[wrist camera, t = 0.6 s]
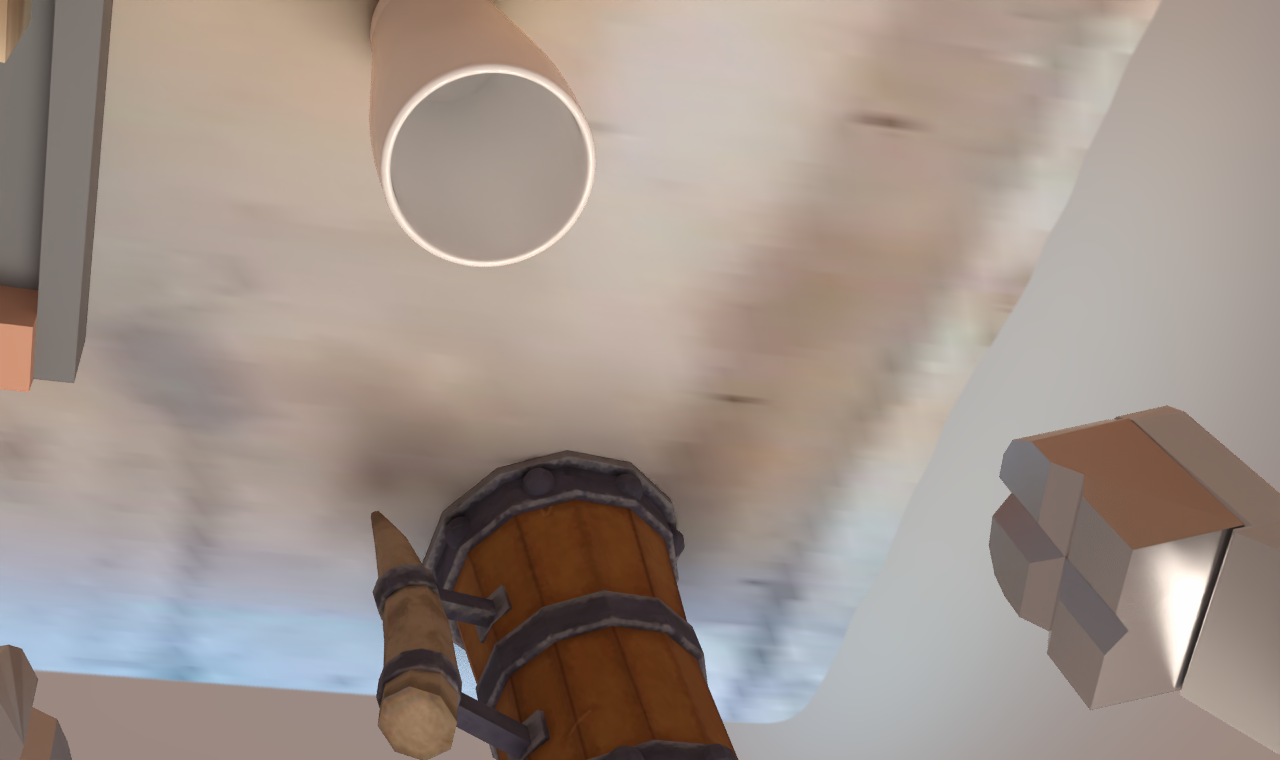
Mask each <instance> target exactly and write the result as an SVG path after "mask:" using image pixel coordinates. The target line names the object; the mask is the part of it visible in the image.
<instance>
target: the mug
mask: <svg viewBox="0 0 1280 760" xmlns="http://www.w3.org/2000/svg"><path fill="white" fill-rule="evenodd" d="M371 521H372V528H373V535H374V542H375V550H376V560H377V569H378V580H377V582H376V585H375V587H374V590H373V595H374V598H375V602H376V605H377V609H378V611H379V614H380V617H381V619H382V620H383V631H384V668H383V670H382V673H381V676H380V678H379V682H378V689H377V696H376V698H377V701H378V704H379V707H380V713H379V721H378V727H379V728H380V730H381V731H382V733H383V734H384V736H385V737H386V739H387V740H388V742H389V743H390V745H391V746H392V748H393V749H394V751H395V752H398V753H401V754H404V755H407V756H411V757H414V758H417V759H420V760H428V759H430V758H433V757H435V756H437V755H439V754H441V753H443V752H446V751H448V750H450V749H451V746H452V742H453V737H454V733H455V729H456V727H458V728H460V729H462V730H464V731H466V732H467V733H469V734H471V735H473V736H475V737H477V738H479V739H481V740H483V741H485V742H486V743H488V744H489V745H490V749H491V752H492V755H493V758H495V759H496V760H738V758H737V756H736V753H735V751H734V748H733V746H732V744H731V741H730V739H729V737H728V734H727V731H726V729H725V727H724V724H723V722H722V719H721V717H720V714H719V712H718V710H717V707H716V705H715V702H714V700H713V698H712V695H711V693H710V690H709V688H708V684H707V676H706V668H705V660H704V653H703V651H702V648H701V646H700V644H699V641H698V639H697V637H696V634H695V632H694V629H693V627H692V626H691V625H690V624H689V623H688V622H687V620H686V616H685V612H684V609H683V605H682V601H681V598H680V594H679V590H678V586H677V582H678V580H679V578H678V571H677V564H676V562H677V560H678V558H679V556H680V554H681V552H682V551H683V549H684V538H683V535H682V534H681V533H680V532H679V531H678V530H676V523H675V515H674V508H673V504H672V502H671V500H670V499H669V498H668V497H667V496H666V495H665V494H664V493H663V492H662V491H661V490H660V489H659V488H658V487H656V486H655V485H654V484H653V483H652V482H651V481H650V480H649V479H648V478H647V477H646V476H645V475H644V474H643V473H641V472H640V471H639V470H638V469H637V468H636V467H635V466H634V465H633V464H632V463H630V462H624V461H619V460H614V459H609V458H604V457H598V456H593V455H588V454H583V453H578V452H572V451H563V452H559V453H555V454H552V455H548V456H544V457H540V458H536V459H532V460H528V461H524V462H520V463H516V464H513V465H509V466H505V467H501V468H497V469H496V470H495V471H493V472H492V473H491V474H490V475H488V476H487V477H486V478H485V479H483V480H482V481H481V482H480V483H478V484H477V485H476V486H475V487H473V488H472V489H471V490H470V491H468V492H467V493H466V494H465V495H463V496H462V497H461V498H460V499H458V500H457V501H456V502H455V503H453V504H452V505H451V506H450V507H448V508H447V509H446V510H445V511H443V513H442V516H441V518H440V521H439V523H438V526H437V528H436V531H435V534H434V536H433V539H432V541H431V544H430V546H429V549H428V551H427V554H426V556H425V559H424V561H423V564H422V563H421V561H420V559H419V558H418V556H417V555H416V553H415V551H414V550H413V548H412V546H411V545H410V543H409V541H408V540H407V538H406V537H405V536H404V535H403V534H402V533H401V532H400V531H399V530H398V529H397V528H396V527H395V526H394V525H393V524H392V523H391V522H390V521H389V520H388V519H387V518H386V517H384V516H383V515H382V514H381V513H380V512H379V511H375V512H373V513H372V514H371ZM452 640H453V641H452ZM453 642H454V643H455V644H457V645H458V646H460V647H461V648H463V649H464V650H465V651H466V654H467V657H468V660H469V663H470V666H471V669H472V672H473V675H474V677H475V680H476V683H477V686H476V693H477V698H478V701H477V700H476V699H474V698H472V697H470V696H468V695H466V694H464V693H462V692H461V689H462V681H461V677H460V674H459V670H458V666H457V661H456V656H455V651H454V646H453Z"/></svg>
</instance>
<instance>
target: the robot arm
mask: <svg viewBox="0 0 1280 760" xmlns="http://www.w3.org/2000/svg"><path fill="white" fill-rule="evenodd" d="M999 477H1000V479H1001V480H1002V481H1003V482H1004V484H1005V485H1006V486H1007V487H1008V489H1009V490H1010V491H1011V494H1010V496H1009V497H1008V498H1007V499H1006V500H1005V502H1004V503H1003V504H1002V505H1001V506H1000V508H999V509H998V510H997V511H996V513H995V514H994V515H993V517H992V525H991V533H990V541H989V548H990V553H991V559H992V563H993V568H994V574H995V576H996V578H997V581H998V583H999V585H1000V587H1001V589H1002V592H1003V594H1004V596H1005V597H1006V599H1007V600H1008V602H1009V603H1010V604H1011V606H1012V607H1013V608H1014V610H1015V611H1016V613H1017V614H1018V615H1019V617H1021V618H1023V619H1025V620H1027V621H1030V622H1031V623H1033V624H1036V625H1037V626H1040V627H1042V628H1044V629H1046V630H1048V631H1049V639H1048V650H1047V654H1048V655H1049V657H1050V658H1051V659H1052V660H1053V662H1054V663H1055V665H1056V666H1057V667H1058V668H1059V670H1060V671H1061V672H1062V674H1063V675H1064V676H1065V678H1066V679H1067V680H1068V682H1069V683H1070V684H1071V686H1072V687H1073V688H1074V689H1075V691H1076V692H1077V693H1078V695H1079V696H1080V697H1081V699H1082V700H1083V701H1084V702H1085V704H1086V705H1087V706H1088V708H1089V709H1090V710H1094V709H1098V708H1103V707H1107V706H1111V705H1116V704H1121V703H1125V702H1129V701H1134V700H1138V699H1142V698H1147V697H1152V696H1156V695H1160V694H1164V693H1169V692H1174V691H1178V690H1181V692H1180V695H1181V696H1182V697H1184V698H1186V699H1187V700H1189V701H1191V702H1192V703H1194V704H1196V705H1197V706H1199V707H1201V708H1202V709H1204V710H1206V711H1207V712H1209V713H1211V714H1212V715H1214V716H1216V717H1217V718H1219V719H1221V720H1222V721H1224V722H1226V723H1227V724H1229V725H1231V726H1233V727H1234V728H1235V729H1237V730H1239V731H1240V732H1242V733H1244V734H1246V735H1247V736H1249V737H1250V738H1252V739H1254V740H1255V741H1257V742H1259V743H1260V744H1262V745H1264V746H1265V747H1267V748H1269V749H1271V750H1272V751H1274V752H1275V753H1277V754H1279V755H1280V493H1279V492H1277V491H1276V490H1275V489H1274V488H1273V487H1272V486H1271V485H1269V484H1268V483H1267V482H1266V481H1265V480H1264V479H1262V478H1261V477H1260V476H1259V475H1258V474H1257V473H1255V472H1254V471H1253V470H1252V469H1251V468H1250V467H1248V466H1247V465H1246V464H1245V463H1244V462H1243V461H1241V460H1240V459H1239V458H1238V457H1237V456H1236V455H1234V454H1233V453H1232V452H1231V451H1230V450H1229V449H1227V448H1226V447H1225V446H1224V445H1223V444H1222V443H1220V442H1219V441H1218V440H1217V439H1216V438H1214V437H1213V436H1212V435H1211V434H1210V433H1209V432H1208V431H1206V430H1205V429H1204V428H1203V427H1202V426H1201V425H1199V424H1198V423H1197V422H1196V421H1195V420H1194V419H1192V418H1191V417H1190V416H1189V415H1188V414H1187V413H1185V412H1184V411H1181V410H1179V409H1176V408H1173V407H1170V406H1163V407H1158V408H1154V409H1149V410H1145V411H1141V412H1136V413H1132V414H1127V415H1123V416H1118V417H1116V418H1115V419H1112V420H1104V421H1099V422H1095V423H1090V424H1085V425H1081V426H1076V427H1071V428H1066V429H1062V430H1057V431H1053V432H1048V433H1043V434H1038V435H1034V436H1029V437H1024V438H1019V439H1014V440H1012V442H1011V444H1010V445H1009V447H1008V448H1007V450H1006V451H1005V453H1004V455H1003V460H1002V465H1001V471H1000V476H999ZM37 682H38V678H37V676H36V675H35V672H34V671H33V669H32V667H31V665H30V663H29V661H28V659H27V658H26V656H25V654H24V652H23V650H22V649H21V648H18V647H14V646H11V645H4V646H0V760H72V758H71V754H70V750H69V746H68V742H67V740H66V738H65V736H64V733H63V731H62V729H61V727H60V724H59V722H58V720H57V719H56V718H54V717H51V716H49V715H47V714H45V713H43V712H41V711H39V710H37V709H35V708H33V707H32V706H33V701H34V696H35V692H36V686H37Z"/></svg>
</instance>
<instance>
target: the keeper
mask: <svg viewBox="0 0 1280 760" xmlns="http://www.w3.org/2000/svg"><path fill="white" fill-rule="evenodd" d="M31 9H32V0H0V62H3V63H5V62H6V61H7V59H8V57H9V56H10V54H11V53H12V51H13V49H14V48H15V46H16V44H17V43H18V41H19V40H20V38H21V36H22V35H23V33H24V31H25V30H26V28H27V27H28V25H29V23H30V22H31Z"/></svg>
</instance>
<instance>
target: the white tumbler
mask: <svg viewBox="0 0 1280 760" xmlns="http://www.w3.org/2000/svg"><path fill="white" fill-rule="evenodd" d="M370 44H371V50H372V73H371V89H370V109H369V124H370V138H371V145H372V151H373V157H374V162H375V166H376V169H377V173H378V177H379V180H380V183H381V186H382V189H383V192H384V196H385V199H386V201H387V204H388V206H389V209H390V211H391V212H392V214H393V216H394V218H395V219H396V221H397V222H398V224H399V225H400V227H401V228H402V229H403V230H404V231H405V233H406V234H407V235H408V236H409V237H410V238H411V239H412V240H413V241H415V242H416V243H417V244H418V245H420V246H421V247H422V248H424V249H425V250H427V251H428V252H430V253H432V254H434V255H436V256H438V257H440V258H442V259H445V260H447V261H450V262H454V263H457V264H462V265H466V266H475V267H495V266H502V265H508V264H512V263H516V262H519V261H522V260H525V259H528V258H530V257H532V256H535V255H537V254H538V253H540V252H542V251H544V250H545V249H547V248H548V247H550V246H551V245H553V244H554V243H555V242H557V241H558V240H559V239H560V238H561V237H562V236H563V235H564V234H565V233H566V232H567V231H568V230H569V229H570V228H571V227H572V226H573V224H574V223H575V222H576V220H577V219H578V218H579V216H580V214H581V213H582V211H583V209H584V207H585V205H586V203H587V201H588V199H589V196H590V193H591V190H592V187H593V182H594V177H595V170H596V153H595V145H594V140H593V136H592V132H591V129H590V127H589V124H588V122H587V120H586V118H585V116H584V114H583V112H582V110H581V107H580V106H579V104H578V102H577V100H576V98H575V96H574V94H573V92H572V90H571V89H570V87H569V85H568V84H567V82H566V81H565V79H564V78H563V76H562V74H561V73H560V72H559V70H558V69H557V68H556V66H555V65H554V64H553V63H552V61H551V60H550V59H549V58H548V56H547V55H546V54H545V53H544V52H543V51H542V50H541V49H540V48H539V47H538V46H537V45H536V44H535V43H534V42H533V41H532V40H531V39H530V38H529V37H528V36H527V35H526V34H525V33H524V32H523V31H521V30H520V29H519V28H518V27H517V26H516V25H515V24H514V23H513V22H512V21H511V20H510V19H509V18H508V17H507V16H506V15H504V14H503V13H502V12H501V11H500V10H499V9H498V8H497V7H496V6H495V4H494V2H493V1H492V0H379V2H378V4H377V6H376V8H375V10H374V13H373V16H372V20H371V26H370Z"/></svg>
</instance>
